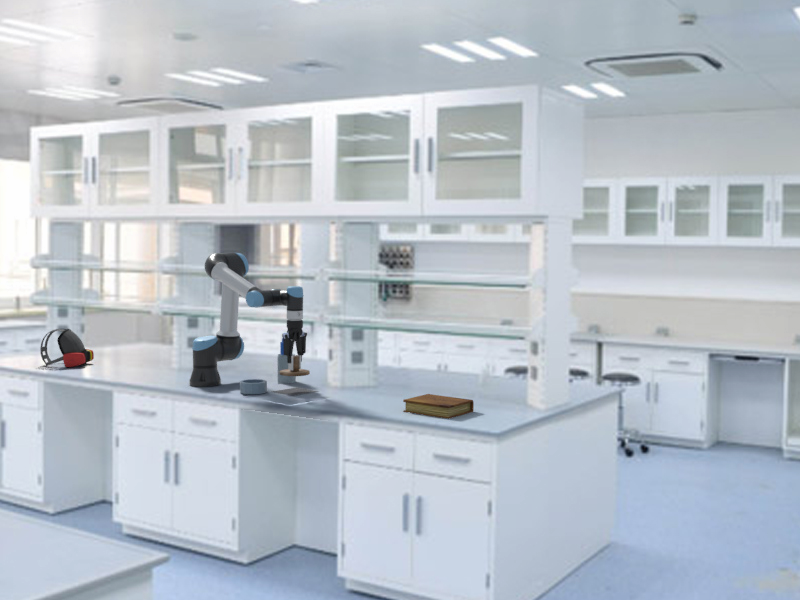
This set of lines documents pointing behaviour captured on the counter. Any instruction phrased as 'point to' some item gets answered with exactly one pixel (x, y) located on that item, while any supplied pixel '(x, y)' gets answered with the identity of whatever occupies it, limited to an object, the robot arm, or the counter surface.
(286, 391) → the mat
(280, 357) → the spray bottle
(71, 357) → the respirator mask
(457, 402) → the diary
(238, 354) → the robot arm
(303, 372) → the lid
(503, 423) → the counter surface
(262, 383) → the bowl
